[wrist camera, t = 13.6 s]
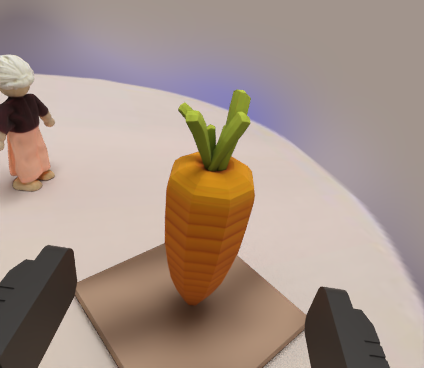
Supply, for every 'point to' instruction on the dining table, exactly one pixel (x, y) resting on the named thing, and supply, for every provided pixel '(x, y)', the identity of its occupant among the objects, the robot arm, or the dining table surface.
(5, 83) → the grandmother figurine
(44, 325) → the robot arm
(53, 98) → the dining table surface
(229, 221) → the carrot
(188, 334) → the walnut board
